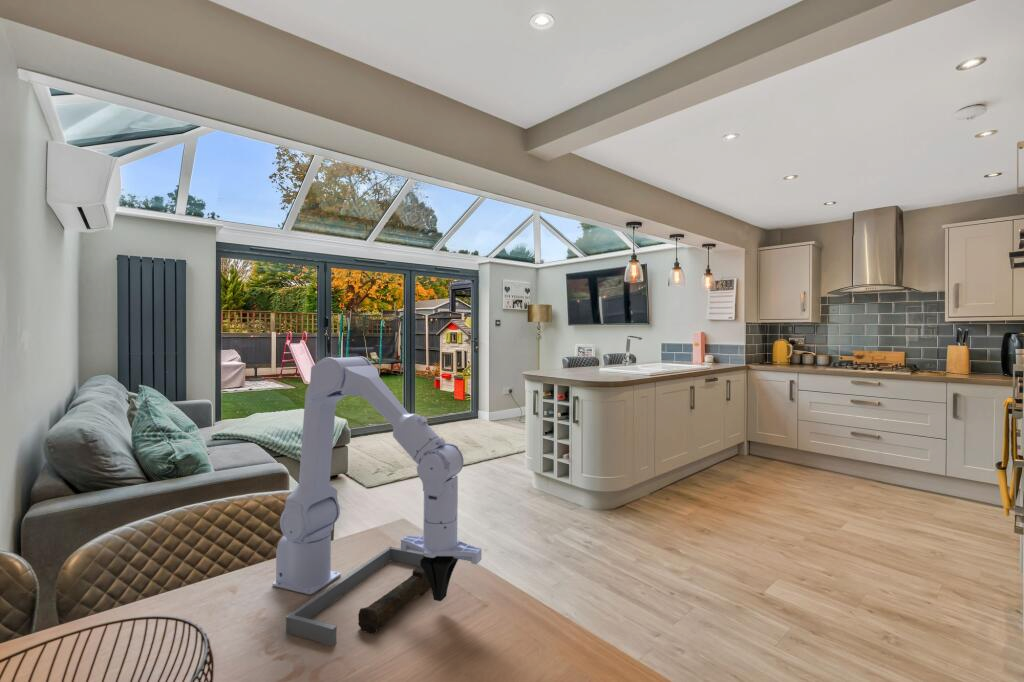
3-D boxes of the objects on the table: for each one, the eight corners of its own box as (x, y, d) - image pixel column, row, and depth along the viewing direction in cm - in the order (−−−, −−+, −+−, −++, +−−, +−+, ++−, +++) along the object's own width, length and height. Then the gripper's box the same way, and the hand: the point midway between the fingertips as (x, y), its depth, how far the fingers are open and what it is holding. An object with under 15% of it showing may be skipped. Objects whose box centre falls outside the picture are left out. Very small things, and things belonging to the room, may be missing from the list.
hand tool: (375, 638, 74) (375, 609, 74) (356, 631, 75) (357, 601, 75) (447, 585, 90) (447, 560, 90) (430, 579, 92) (431, 555, 92)
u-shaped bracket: (285, 632, 75) (285, 616, 75) (389, 558, 100) (389, 546, 100) (332, 646, 71) (332, 629, 71) (427, 565, 97) (427, 553, 97)
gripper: (390, 520, 79) (390, 601, 79) (468, 532, 74) (468, 619, 74) (413, 506, 86) (413, 581, 86) (486, 517, 81) (486, 597, 81)
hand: (440, 597), depth 81 cm, fingers closed
